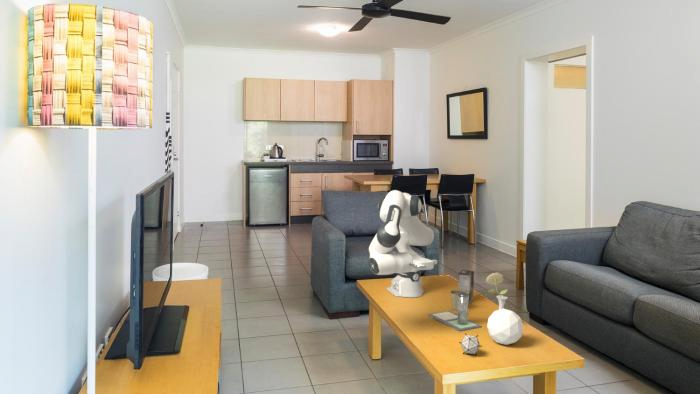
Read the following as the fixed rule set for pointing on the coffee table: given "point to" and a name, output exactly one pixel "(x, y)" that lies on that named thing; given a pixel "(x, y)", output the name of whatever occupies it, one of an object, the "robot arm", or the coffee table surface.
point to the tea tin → (462, 308)
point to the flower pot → (455, 298)
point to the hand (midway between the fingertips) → (429, 259)
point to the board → (453, 321)
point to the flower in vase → (495, 280)
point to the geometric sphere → (505, 326)
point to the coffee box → (466, 283)
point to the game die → (470, 344)
